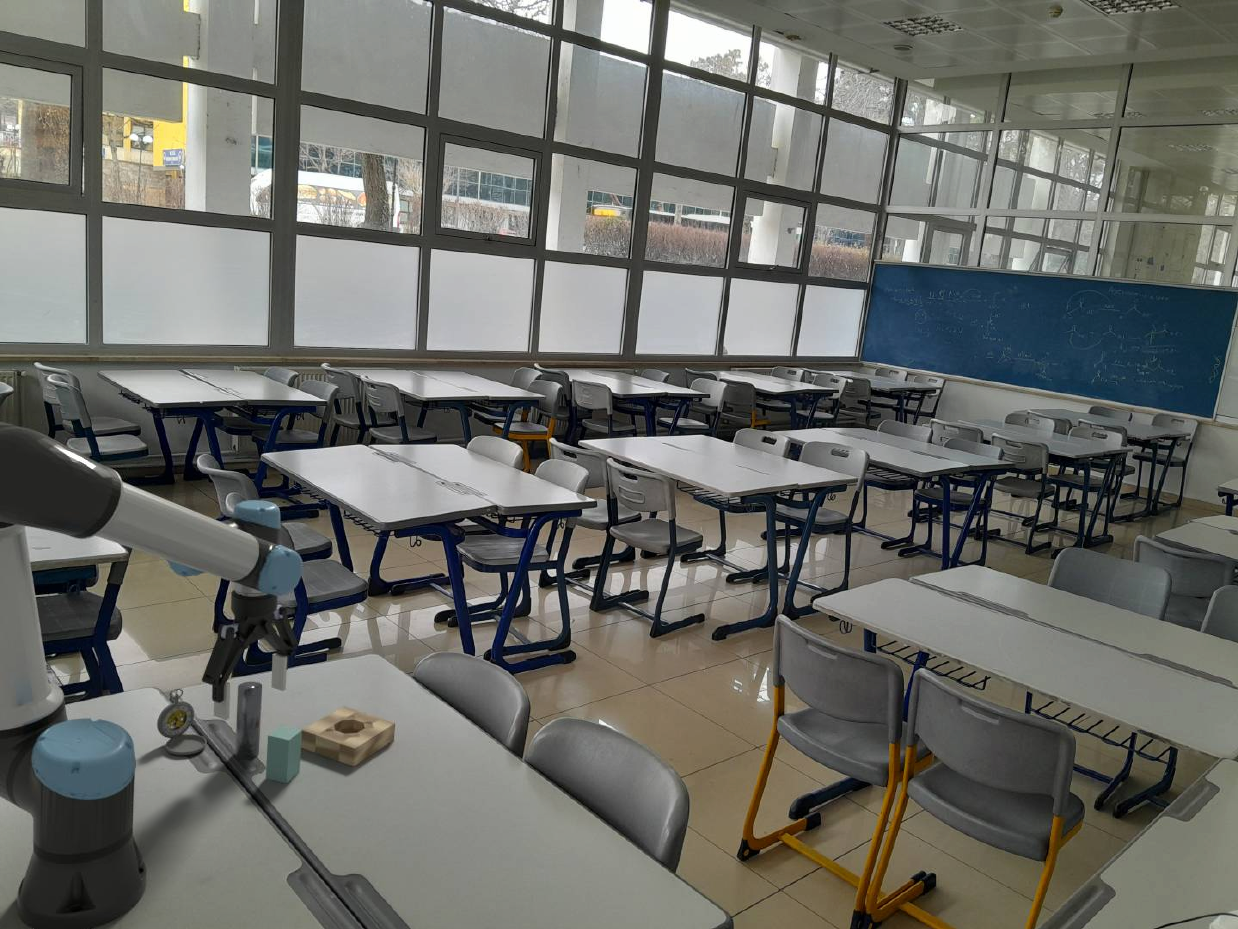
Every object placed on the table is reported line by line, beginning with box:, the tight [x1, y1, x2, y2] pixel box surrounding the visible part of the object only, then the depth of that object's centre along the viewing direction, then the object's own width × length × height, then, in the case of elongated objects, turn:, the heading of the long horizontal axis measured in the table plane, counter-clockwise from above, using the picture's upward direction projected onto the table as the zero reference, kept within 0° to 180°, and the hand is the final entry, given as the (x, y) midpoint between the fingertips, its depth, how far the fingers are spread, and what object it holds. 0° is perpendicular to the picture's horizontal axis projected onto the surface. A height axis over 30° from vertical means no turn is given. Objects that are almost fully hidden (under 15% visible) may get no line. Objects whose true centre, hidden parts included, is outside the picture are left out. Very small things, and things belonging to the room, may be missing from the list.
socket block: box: [301, 706, 396, 767], centre depth 173 cm, size 12×12×4 cm
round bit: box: [234, 681, 263, 760], centre depth 165 cm, size 4×4×13 cm
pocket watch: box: [156, 688, 208, 756], centre depth 165 cm, size 8×8×10 cm
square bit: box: [265, 724, 303, 784], centre depth 160 cm, size 4×4×8 cm
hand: (251, 702), depth 165 cm, fingers open, 13 cm apart
